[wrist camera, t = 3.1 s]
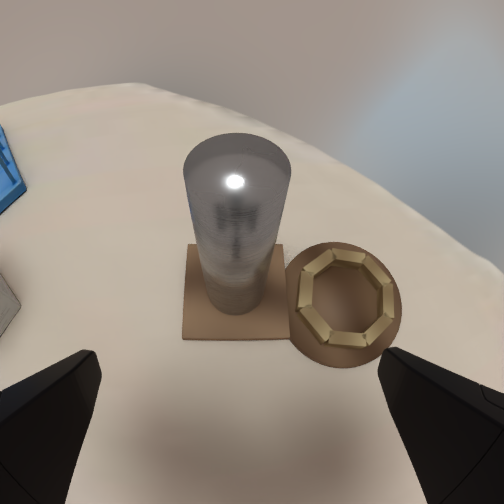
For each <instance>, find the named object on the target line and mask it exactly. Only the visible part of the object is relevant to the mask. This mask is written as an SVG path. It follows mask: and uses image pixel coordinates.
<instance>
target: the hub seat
mask: <svg viewBox="0 0 504 504" xmlns="http://www.w3.org/2000/svg"><path fill="white" fill-rule="evenodd" d="M285 278H286V290H287V302H288V315H289V329H290V338H289V339H290V341H291V342H292V343H293V344H294V345H295V347H296V348H297V349H298V350H299V351H301V352H302V353H303V354H304V355H305V356H307V357H309V358H310V359H312V360H313V361H316V362H318V363H320V364H322V365H326V366H329V367H335V368H351V367H357V366H360V365H363V364H366V363H368V362H370V361H372V360H374V359H376V358H377V357H379V356H380V355H381V354H382V352H383V350H384V349H385V348H388V347H389V346H390V345H391V344H392V342H393V340H394V339H395V337H396V335H397V332H398V330H399V326H400V323H401V316H402V305H401V298H400V293H399V290H398V287H397V284H396V282H395V280H394V278H393V277H392V275H391V273H390V272H389V270H388V269H387V268H386V267H385V266H384V264H383V263H382V262H381V261H380V260H379V259H377V258H376V257H375V256H374V255H372V254H371V253H369V252H367V251H366V250H364V249H362V248H360V247H357V246H354V245H351V244H347V243H340V242H328V243H321V244H317V245H314V246H312V247H309V248H307V249H306V250H304V251H302V252H301V253H300V254H298V255H297V256H296V257H295V258H294V259H293V260H292V261H291V262H290V263H289V265H288V266H287V268H286V269H285Z"/></svg>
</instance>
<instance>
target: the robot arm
mask: <svg viewBox="0 0 504 504" xmlns="http://www.w3.org/2000/svg"><path fill="white" fill-rule="evenodd" d="M378 377H379V380H380V383H381V386H382V389H383V392H384V395H385V398H386V402H387V405H388V408H389V411H390V413H391V416H392V418H393V420H394V423H395V425H396V427H397V429H398V432H399V434H400V436H401V439H402V441H403V443H404V446H405V448H406V450H407V453H408V455H409V458H410V460H411V462H412V465H413V467H414V470H415V472H416V475H417V477H418V480H419V482H420V485H421V488H422V490H423V493H424V495H425V498H426V501H427V504H504V393H501V392H498V391H496V390H493V389H491V388H488V387H486V386H484V385H481V384H480V385H479V383H477V382H474V381H472V380H470V379H467V378H465V377H463V376H460V375H458V374H456V373H453V372H451V371H449V370H447V369H444V368H442V367H440V366H438V365H435V364H433V363H431V362H429V361H426V360H424V359H422V358H420V357H418V356H415V355H413V354H411V353H409V352H407V351H404V350H402V349H400V348H398V347H390V348H385V349H384V350H383V352H382V356H381V359H380V363H379V366H378ZM101 378H102V373H101V369H100V366H99V362H98V359H97V355H96V353H95V352H94V351H92V350H81V351H79V352H77V353H75V354H73V355H71V356H69V357H67V358H65V359H63V360H61V361H59V362H57V363H55V364H53V365H51V366H49V367H47V368H45V369H43V370H41V371H39V372H38V373H36V374H34V375H32V376H30V377H28V378H26V379H24V380H22V381H20V382H18V383H16V384H14V385H12V386H10V387H8V388H6V389H4V390H2V391H0V504H65V501H66V497H67V494H68V490H69V486H70V483H71V479H72V476H73V473H74V469H75V466H76V463H77V459H78V456H79V453H80V450H81V447H82V444H83V441H84V438H85V435H86V432H87V429H88V426H89V424H90V421H91V418H92V414H93V410H94V406H95V402H96V398H97V394H98V390H99V386H100V382H101Z"/></svg>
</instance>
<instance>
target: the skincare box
mask: <svg viewBox="0 0 504 504" xmlns="http://www.w3.org/2000/svg"><path fill="white" fill-rule="evenodd" d="M20 307H21V305H20V303H19V302H18V300H17V299H16V297H15V296H14V294H13V293H12V291H11V290H10V288H9V287H8V285H7V284H6V282H5V281H4V279H3V277H2V276H1V274H0V336H1V334H2V333H3V331H4V330H5V329H6V327H7V326H8V324H9V323H10V321H11V320H12V319H13V317H14V316H15V314H16V313H17V312H18V310H19V309H20Z"/></svg>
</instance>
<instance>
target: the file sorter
mask: <svg viewBox="0 0 504 504" xmlns="http://www.w3.org/2000/svg"><path fill="white" fill-rule="evenodd" d="M25 191H26V186H25V184H24V182H23V180H22V177H21V175H20V173H19V170H18V168H17V166H16V163H15V161H14V158H13V156H12V153H11V150H10V148H9V145H8V142H7V140H6V137H5V134H4V131H3V128H2V127H1V125H0V213H1V212H2V211H3V210H4V209H5V208H6V207H7V206H9V205H10V204H11V203H12V202H13V201H14V200H15V199H16V198H17V197H19V196H20V195H21V194H22V193H23V192H25Z"/></svg>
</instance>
